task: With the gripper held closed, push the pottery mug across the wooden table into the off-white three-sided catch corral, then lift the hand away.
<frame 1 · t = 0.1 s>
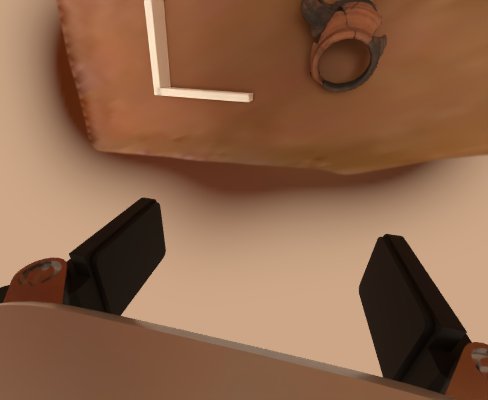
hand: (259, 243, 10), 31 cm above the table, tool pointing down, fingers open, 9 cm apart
catch corral: (212, 36, 34), on the table
pottery mug: (335, 40, 32), on the table
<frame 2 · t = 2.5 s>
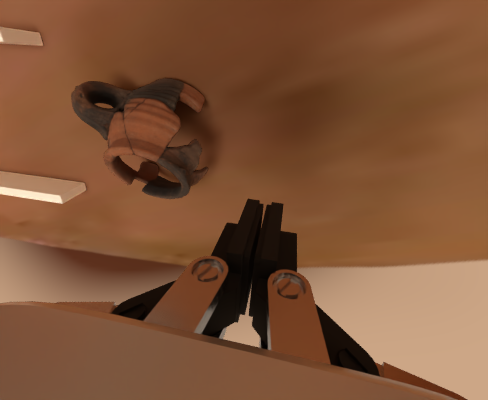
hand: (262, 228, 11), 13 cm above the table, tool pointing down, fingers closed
catch corral: (15, 118, 26), on the table
pottery mug: (166, 126, 24), on the table
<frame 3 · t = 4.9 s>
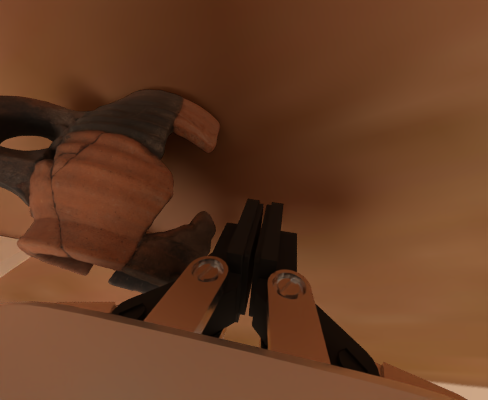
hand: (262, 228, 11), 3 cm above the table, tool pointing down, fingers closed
pottery mug: (153, 167, 14), on the table, touching gripper
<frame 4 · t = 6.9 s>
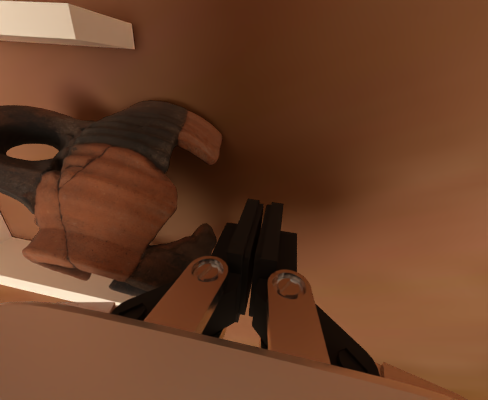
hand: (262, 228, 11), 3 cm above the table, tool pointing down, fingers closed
catch corral: (60, 169, 16), on the table
pottery mug: (155, 174, 15), on the table, touching gripper
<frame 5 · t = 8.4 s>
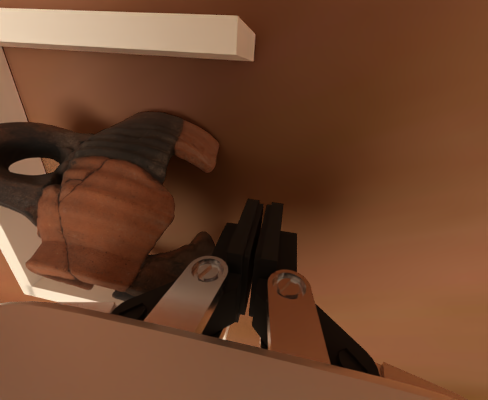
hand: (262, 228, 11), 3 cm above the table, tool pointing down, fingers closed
catch corral: (141, 185, 15), on the table
pottery mug: (155, 183, 15), on the table, touching gripper
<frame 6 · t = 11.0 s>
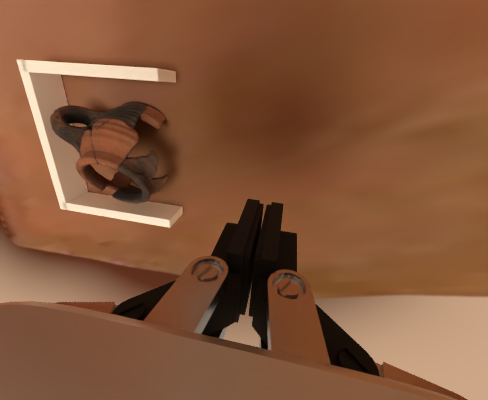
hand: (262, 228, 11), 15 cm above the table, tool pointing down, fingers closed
catch corral: (127, 145, 28), on the table
pottery mug: (136, 141, 28), on the table
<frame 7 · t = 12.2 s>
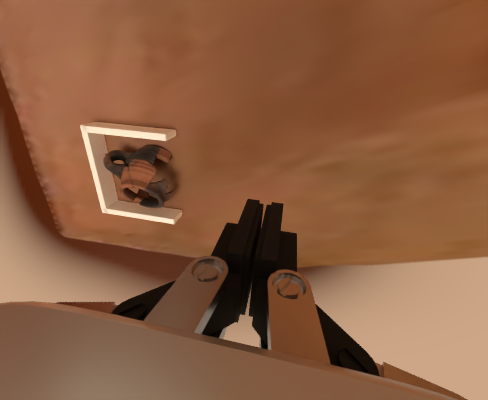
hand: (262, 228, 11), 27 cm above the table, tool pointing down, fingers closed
catch corral: (145, 171, 43), on the table
pottery mug: (152, 168, 43), on the table
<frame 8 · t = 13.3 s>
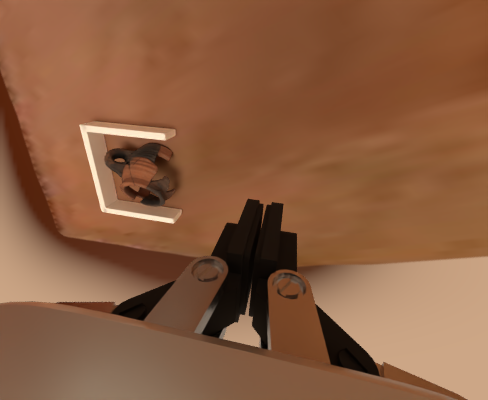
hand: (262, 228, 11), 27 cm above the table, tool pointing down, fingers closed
catch corral: (145, 170, 43), on the table
pottery mug: (153, 166, 43), on the table
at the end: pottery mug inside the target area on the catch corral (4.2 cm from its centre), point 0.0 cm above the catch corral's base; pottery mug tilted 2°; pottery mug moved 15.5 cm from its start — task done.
